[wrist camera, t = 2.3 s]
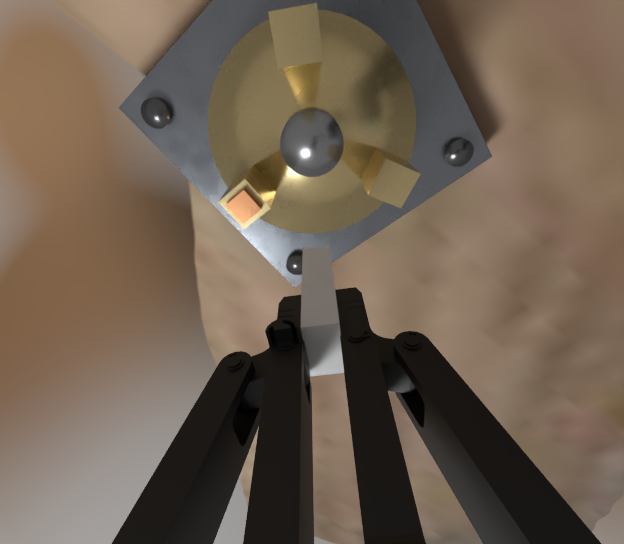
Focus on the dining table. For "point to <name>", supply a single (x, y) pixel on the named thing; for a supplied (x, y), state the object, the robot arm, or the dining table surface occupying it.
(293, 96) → the three-jaw lathe chuck
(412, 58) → the plate
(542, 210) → the dining table surface
